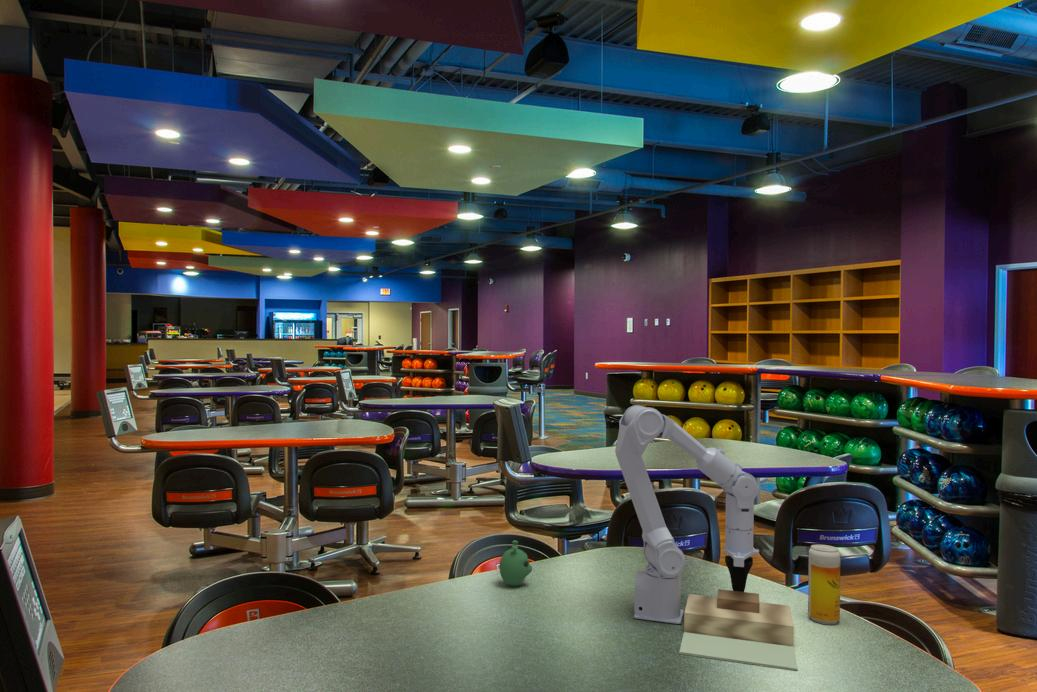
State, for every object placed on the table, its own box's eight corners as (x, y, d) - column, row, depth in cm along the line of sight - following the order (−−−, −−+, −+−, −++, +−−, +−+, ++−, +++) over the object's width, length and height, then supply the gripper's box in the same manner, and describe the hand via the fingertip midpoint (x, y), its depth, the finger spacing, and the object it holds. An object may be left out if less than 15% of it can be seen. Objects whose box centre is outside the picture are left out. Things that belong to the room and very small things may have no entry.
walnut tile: (717, 608, 141) (717, 598, 141) (718, 598, 146) (718, 589, 146) (759, 613, 138) (759, 603, 138) (758, 603, 144) (758, 593, 144)
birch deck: (684, 633, 138) (684, 612, 138) (688, 612, 149) (689, 593, 149) (793, 647, 131) (793, 626, 132) (789, 625, 143) (789, 605, 143)
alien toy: (532, 590, 162) (532, 546, 162) (498, 589, 162) (499, 546, 162) (531, 581, 169) (532, 539, 169) (499, 580, 169) (500, 538, 169)
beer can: (843, 626, 143) (843, 552, 143) (811, 623, 144) (812, 550, 144) (835, 616, 149) (836, 545, 149) (805, 613, 150) (806, 543, 150)
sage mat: (679, 654, 128) (679, 651, 128) (683, 634, 137) (683, 632, 137) (797, 671, 121) (797, 668, 121) (793, 648, 131) (793, 646, 131)
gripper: (760, 537, 141) (759, 605, 141) (758, 522, 155) (757, 584, 154) (723, 534, 143) (722, 601, 143) (725, 519, 157) (724, 580, 157)
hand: (738, 592), depth 149 cm, fingers closed
